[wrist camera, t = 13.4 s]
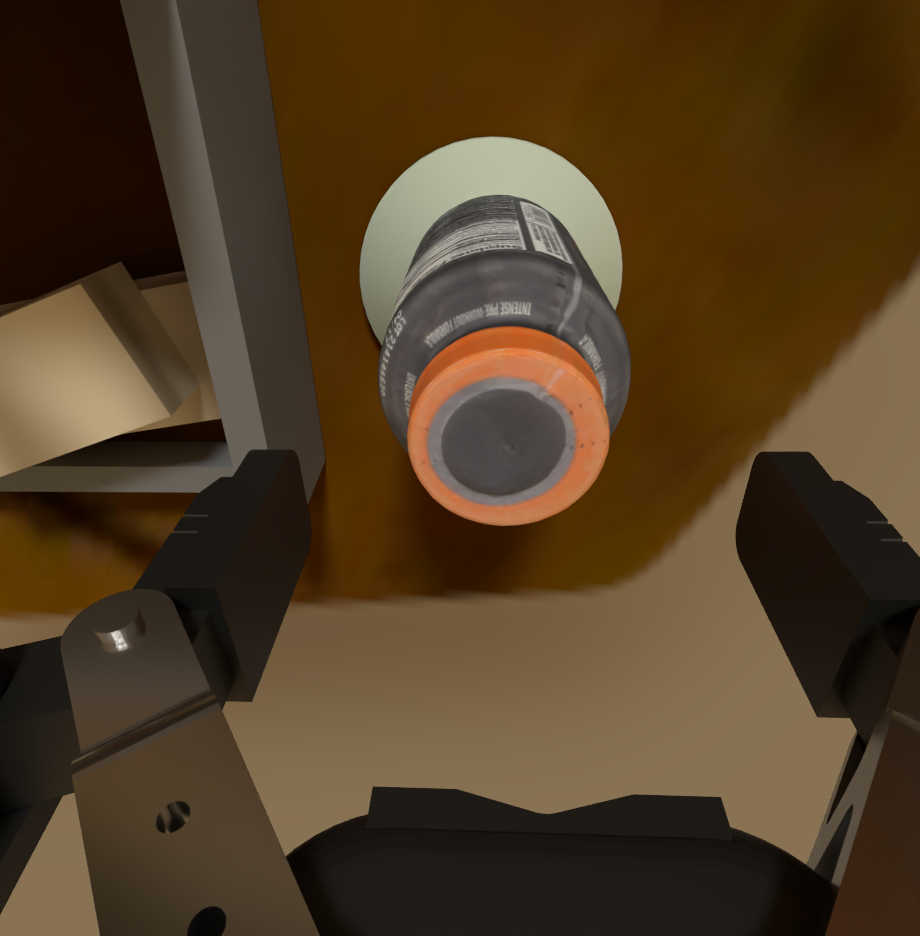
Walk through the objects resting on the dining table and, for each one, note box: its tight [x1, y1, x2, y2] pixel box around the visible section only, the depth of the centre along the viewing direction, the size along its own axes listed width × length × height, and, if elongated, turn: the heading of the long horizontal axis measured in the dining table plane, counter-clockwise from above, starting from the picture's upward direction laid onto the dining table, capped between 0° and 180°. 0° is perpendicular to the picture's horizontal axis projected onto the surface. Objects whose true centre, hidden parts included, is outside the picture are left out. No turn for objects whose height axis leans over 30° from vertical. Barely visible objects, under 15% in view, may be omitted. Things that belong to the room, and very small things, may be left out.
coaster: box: [360, 136, 622, 345], centre depth 22 cm, size 9×9×1 cm
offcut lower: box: [0, 271, 221, 434], centre depth 24 cm, size 13×5×2 cm, turn 100°
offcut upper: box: [0, 262, 199, 477], centre depth 22 cm, size 10×5×2 cm, turn 110°
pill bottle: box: [378, 195, 631, 526], centre depth 17 cm, size 6×6×11 cm
